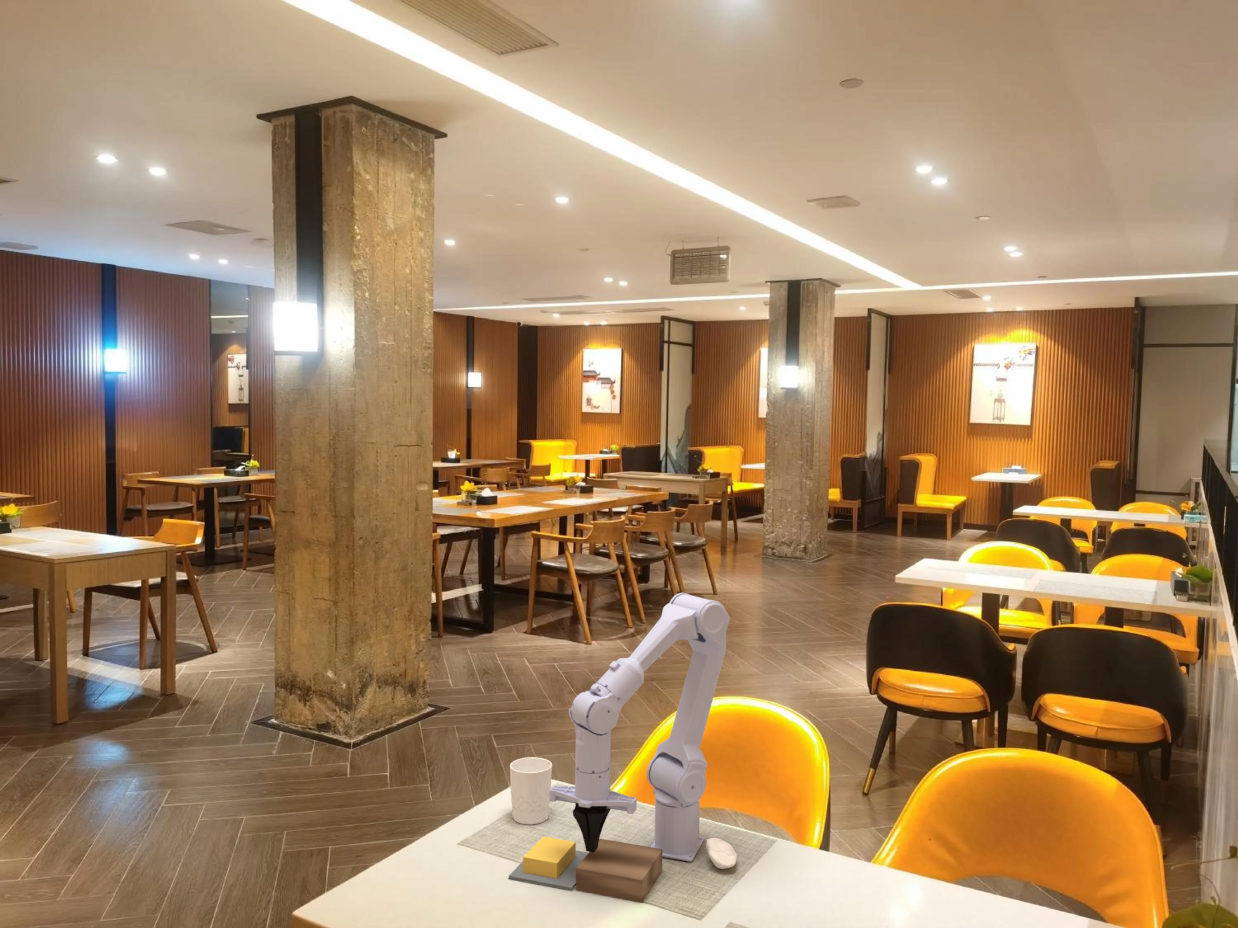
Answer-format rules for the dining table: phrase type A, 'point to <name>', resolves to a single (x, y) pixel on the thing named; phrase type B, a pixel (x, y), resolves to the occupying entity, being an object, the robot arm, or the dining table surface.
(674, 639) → the robot arm
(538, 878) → the mat
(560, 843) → the yellow cuboid
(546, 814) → the white cup
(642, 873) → the brown cuboid
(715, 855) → the dumpling
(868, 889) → the dining table surface
